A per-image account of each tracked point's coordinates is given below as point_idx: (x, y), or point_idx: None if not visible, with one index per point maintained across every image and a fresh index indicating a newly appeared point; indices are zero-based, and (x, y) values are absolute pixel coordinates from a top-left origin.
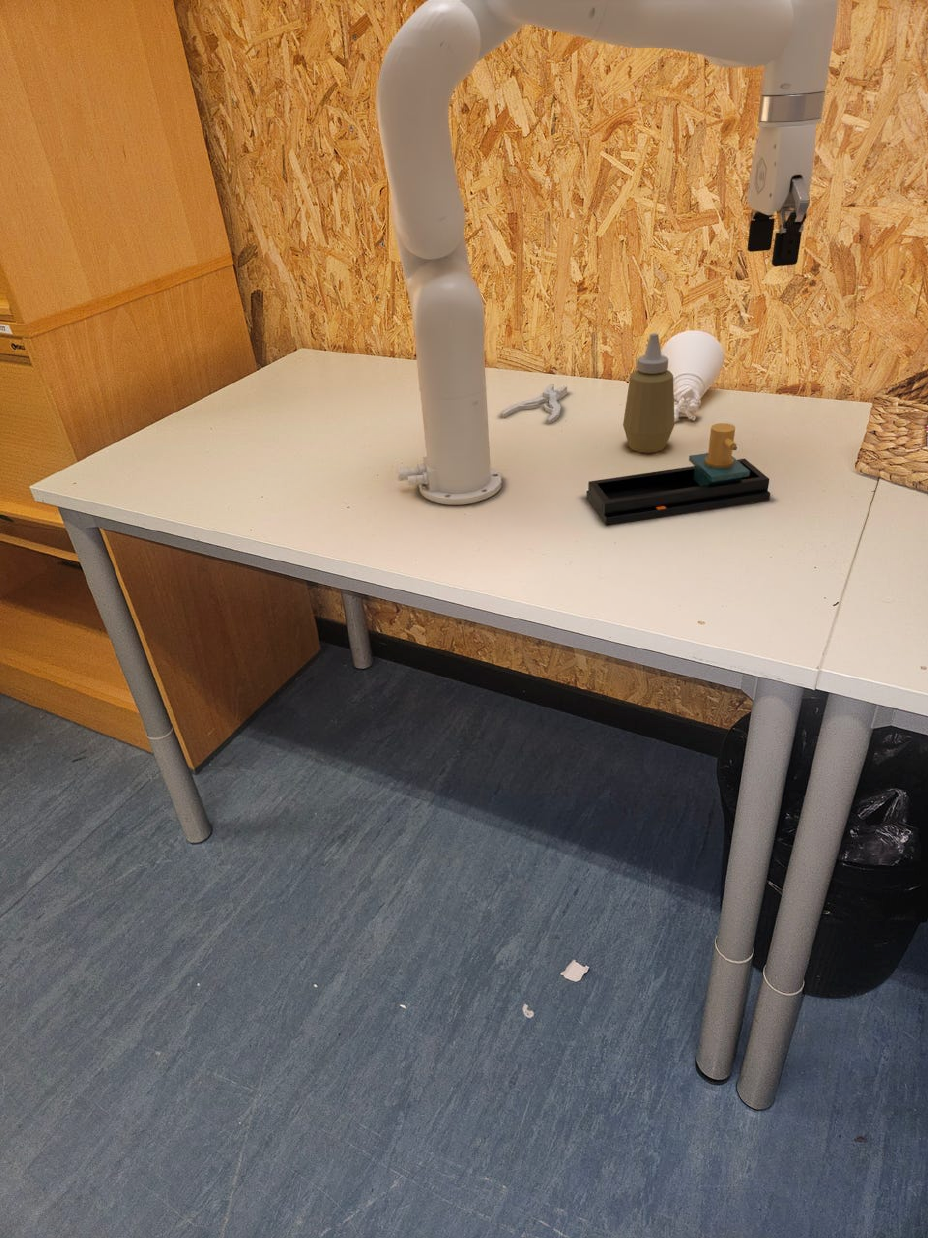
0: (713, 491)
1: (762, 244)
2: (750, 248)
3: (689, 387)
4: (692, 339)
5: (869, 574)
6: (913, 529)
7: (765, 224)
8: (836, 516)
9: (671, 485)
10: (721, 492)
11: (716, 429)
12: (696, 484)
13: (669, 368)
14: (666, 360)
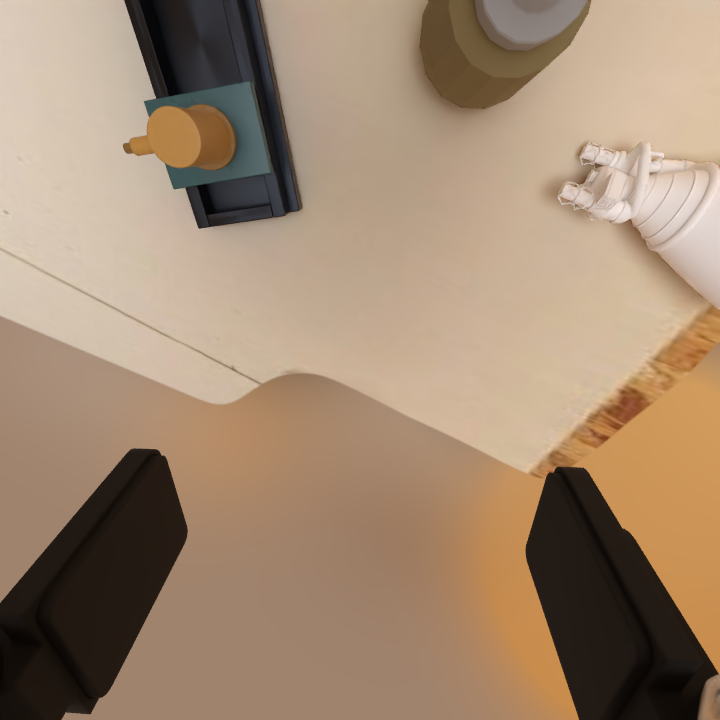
0: None
1: (543, 545)
2: (552, 479)
3: (619, 194)
4: None
5: (6, 272)
6: (130, 366)
7: (589, 678)
8: (158, 297)
9: (230, 38)
10: None
11: (160, 116)
12: None
13: None
14: (498, 29)
